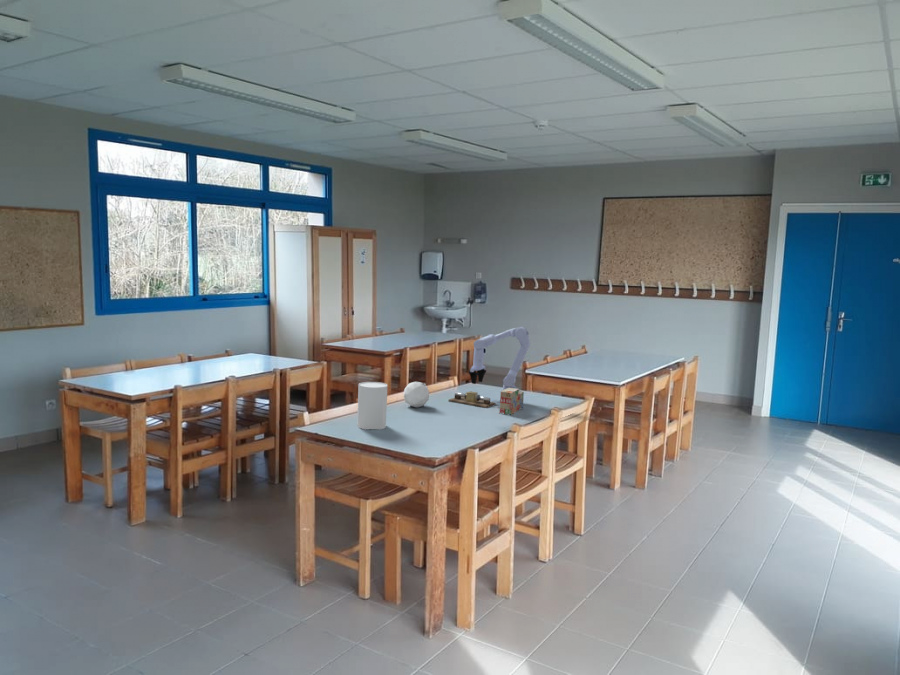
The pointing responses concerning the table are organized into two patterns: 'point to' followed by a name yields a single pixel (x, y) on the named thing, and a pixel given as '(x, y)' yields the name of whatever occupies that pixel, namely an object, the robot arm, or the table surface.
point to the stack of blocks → (511, 400)
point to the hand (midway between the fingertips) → (477, 382)
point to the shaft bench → (477, 403)
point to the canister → (372, 405)
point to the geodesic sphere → (416, 394)
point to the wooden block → (471, 396)
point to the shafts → (476, 397)
